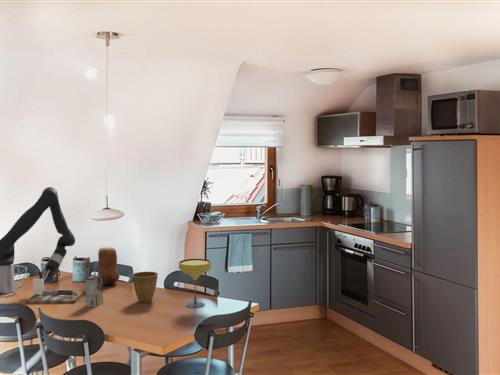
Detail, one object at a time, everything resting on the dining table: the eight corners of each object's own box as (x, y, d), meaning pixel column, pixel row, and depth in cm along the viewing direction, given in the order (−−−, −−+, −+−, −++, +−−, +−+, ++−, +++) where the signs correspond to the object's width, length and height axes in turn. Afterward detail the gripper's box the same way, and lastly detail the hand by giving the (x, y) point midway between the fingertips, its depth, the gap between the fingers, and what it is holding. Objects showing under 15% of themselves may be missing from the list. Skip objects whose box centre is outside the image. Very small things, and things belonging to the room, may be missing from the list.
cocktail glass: (175, 302, 316) (175, 260, 314) (205, 299, 323) (205, 257, 321) (184, 311, 299) (184, 266, 297) (215, 307, 306) (215, 263, 304)
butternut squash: (110, 281, 367) (109, 244, 365) (123, 283, 360) (122, 246, 358) (93, 285, 356) (92, 247, 354) (106, 288, 348) (106, 249, 346)
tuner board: (25, 303, 315) (25, 299, 314) (38, 294, 335) (38, 290, 334) (74, 303, 316) (74, 298, 315) (84, 293, 336) (84, 289, 335)
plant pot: (163, 299, 324) (162, 272, 322) (148, 305, 310) (147, 278, 309) (142, 296, 330) (142, 270, 329) (127, 302, 316) (126, 275, 315)
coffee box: (93, 301, 318) (92, 274, 317) (103, 302, 317) (102, 275, 316) (85, 306, 309) (84, 278, 308) (95, 307, 308) (95, 279, 307)
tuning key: (74, 294, 325) (73, 279, 325) (70, 296, 321) (70, 281, 321) (36, 292, 329) (35, 278, 328) (32, 294, 325) (31, 279, 325)
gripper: (42, 258, 338) (28, 282, 328) (59, 259, 333) (45, 284, 323) (49, 264, 344) (35, 288, 333) (66, 266, 339) (52, 291, 328)
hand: (40, 286), depth 328 cm, fingers closed
